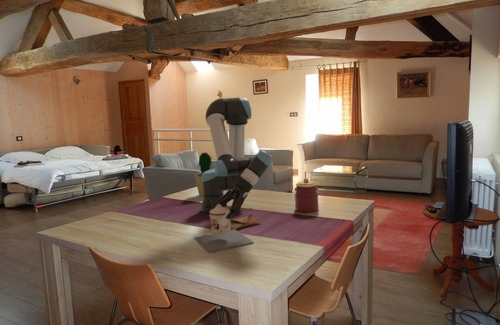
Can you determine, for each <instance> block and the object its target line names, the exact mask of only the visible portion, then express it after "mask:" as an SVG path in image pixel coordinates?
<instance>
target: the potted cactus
mask: <svg viewBox="0 0 500 325" xmlns="http://www.w3.org/2000/svg"><path fill="white" fill-rule="evenodd" d="M198 165H199V166H198V167H199V168H200V172H199V173H196V174H194V177H195V178H194V180H195V182H196V188H197V192H198V195H199V198H203V182H202V174H203V173H204V172H205V171H208V170H211V169H212V168H211V166H212V156H211V155H210V154H209V153H208V152H201V154H200V155H199V157H198Z"/></svg>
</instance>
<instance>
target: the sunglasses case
mask: <svg viewBox="0 0 500 325" xmlns="http://www.w3.org/2000/svg"><path fill="white" fill-rule="evenodd" d="M230 221H231V230H237V231H241V230H243V229H247V228H250V227H255V226H258V225H261V223H260V222H258V220H257V219H256V218H254V217H253V215H252V214H250V215H247V216H243V217H238V218H235V219H230Z"/></svg>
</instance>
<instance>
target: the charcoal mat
mask: <svg viewBox="0 0 500 325" xmlns="http://www.w3.org/2000/svg"><path fill="white" fill-rule="evenodd" d="M194 240H195V241H196V242H197V243H198V244H199V245H200V246H202V248H203V249H204V250H206V251H207V252H208V254H211V253H217V252H221V251H225V250H229V249H235V248H239V247H244V246H248V245H252V244H254V243H255V242H254V241H253V240H251V239H250V238H248V237H247V236H246V235H244V234H243V233H241V232H239V230H230V231H229V232H227V233H222V234H216V233H211V234H206V235H201V236H196V237H194Z"/></svg>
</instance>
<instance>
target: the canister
mask: <svg viewBox="0 0 500 325" xmlns="http://www.w3.org/2000/svg"><path fill="white" fill-rule="evenodd" d="M317 185H318V184H317V183H316V182H314V181H311V180H309V179H308V177H307V178H304V179H303V180H302V181H298V182H297V183H296V184H295V186H296V187H294V188H293V189H294V191H295V193H294V200H295V201H294V202H295V203H294V204H295V205H294V209H295V211H297V212H299V213H315V212H318V210H319V206H320V205H319V193H318V190H319V187H317Z"/></svg>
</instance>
